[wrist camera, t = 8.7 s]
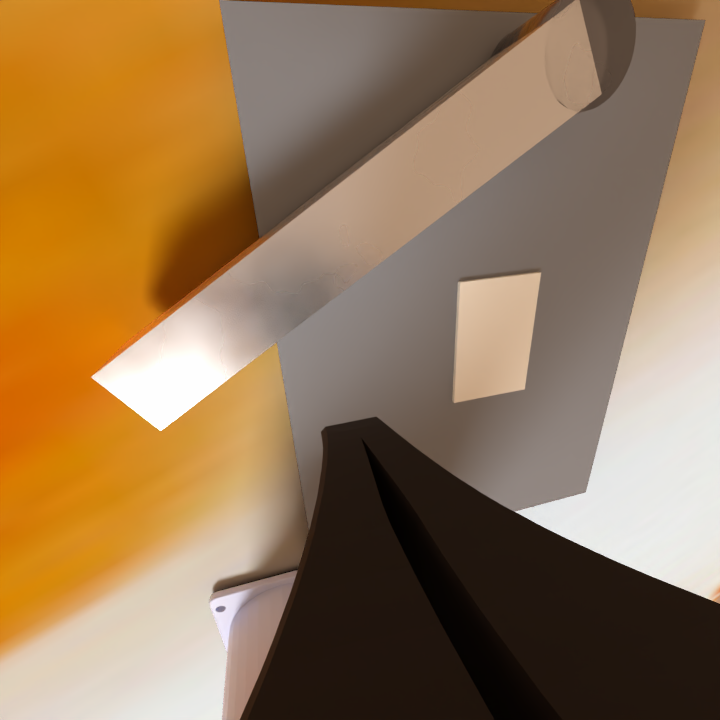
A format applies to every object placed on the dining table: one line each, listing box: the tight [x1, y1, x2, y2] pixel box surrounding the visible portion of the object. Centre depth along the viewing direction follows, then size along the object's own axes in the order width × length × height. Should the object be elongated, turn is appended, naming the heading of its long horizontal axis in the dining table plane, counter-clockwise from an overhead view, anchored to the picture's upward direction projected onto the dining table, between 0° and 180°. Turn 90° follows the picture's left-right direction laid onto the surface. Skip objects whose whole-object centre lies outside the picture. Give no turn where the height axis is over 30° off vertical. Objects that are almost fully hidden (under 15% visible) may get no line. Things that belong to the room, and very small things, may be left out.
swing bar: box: [91, 0, 636, 431], centre depth 12 cm, size 18×3×3 cm, turn 125°
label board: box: [219, 0, 705, 529], centre depth 17 cm, size 24×18×1 cm
